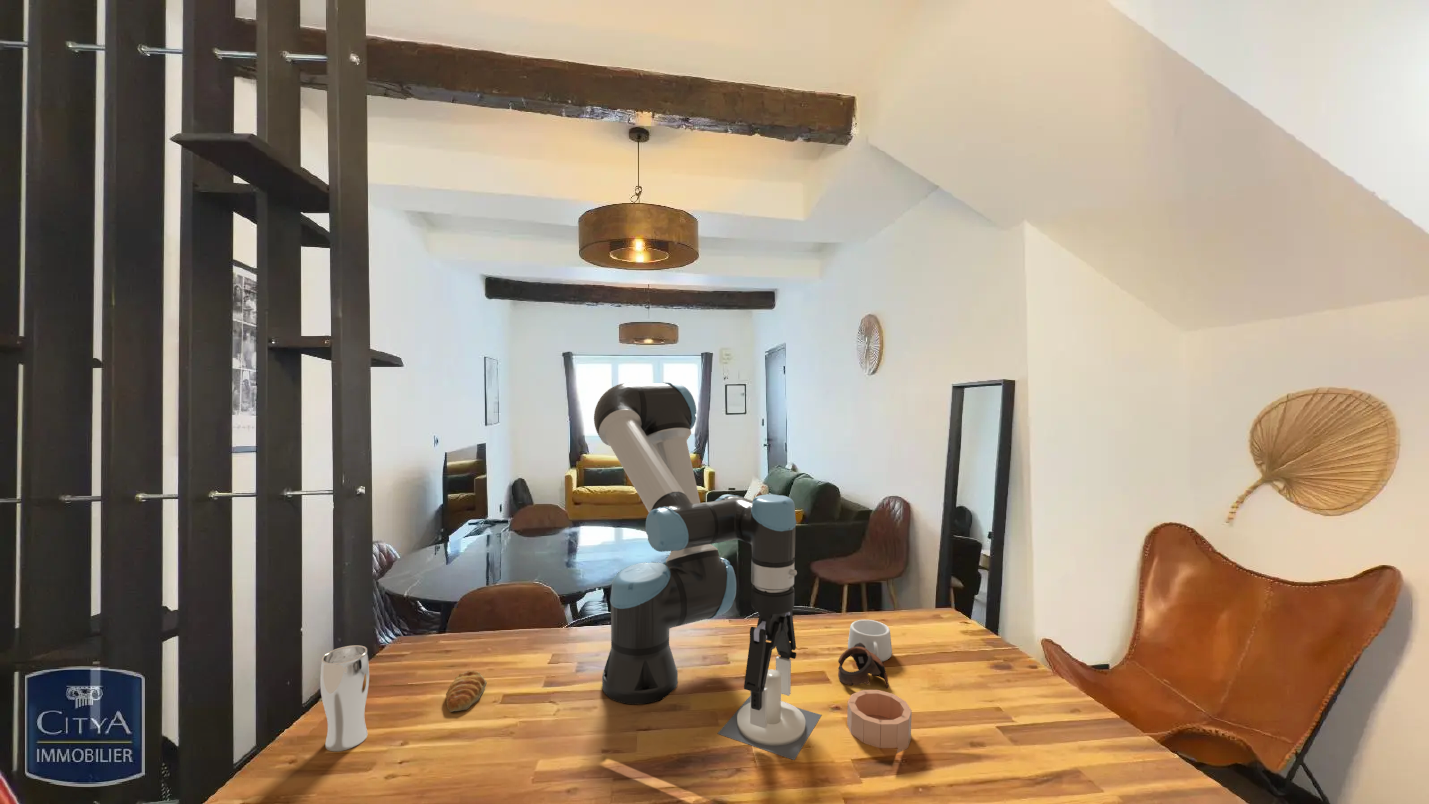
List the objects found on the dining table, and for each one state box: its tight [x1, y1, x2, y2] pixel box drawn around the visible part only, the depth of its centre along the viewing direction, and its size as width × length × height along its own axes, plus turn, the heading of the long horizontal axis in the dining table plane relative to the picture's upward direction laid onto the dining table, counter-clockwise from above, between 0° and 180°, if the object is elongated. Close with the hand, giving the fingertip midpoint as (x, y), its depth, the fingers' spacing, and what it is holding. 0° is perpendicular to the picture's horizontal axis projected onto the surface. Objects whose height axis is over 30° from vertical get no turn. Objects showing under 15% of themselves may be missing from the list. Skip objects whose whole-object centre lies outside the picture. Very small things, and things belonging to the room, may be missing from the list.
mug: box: [847, 619, 893, 663], centre depth 129 cm, size 12×10×6 cm
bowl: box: [846, 689, 913, 754], centre depth 101 cm, size 10×10×5 cm
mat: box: [717, 696, 823, 761], centre depth 102 cm, size 14×14×1 cm
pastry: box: [445, 670, 488, 713], centre depth 111 cm, size 9×7×4 cm
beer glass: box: [319, 644, 370, 752], centre depth 98 cm, size 7×7×15 cm
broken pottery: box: [837, 643, 890, 689], centre depth 118 cm, size 12×10×8 cm
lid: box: [737, 668, 805, 746], centre depth 102 cm, size 12×12×9 cm
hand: (771, 708), depth 102 cm, fingers open, 10 cm apart
